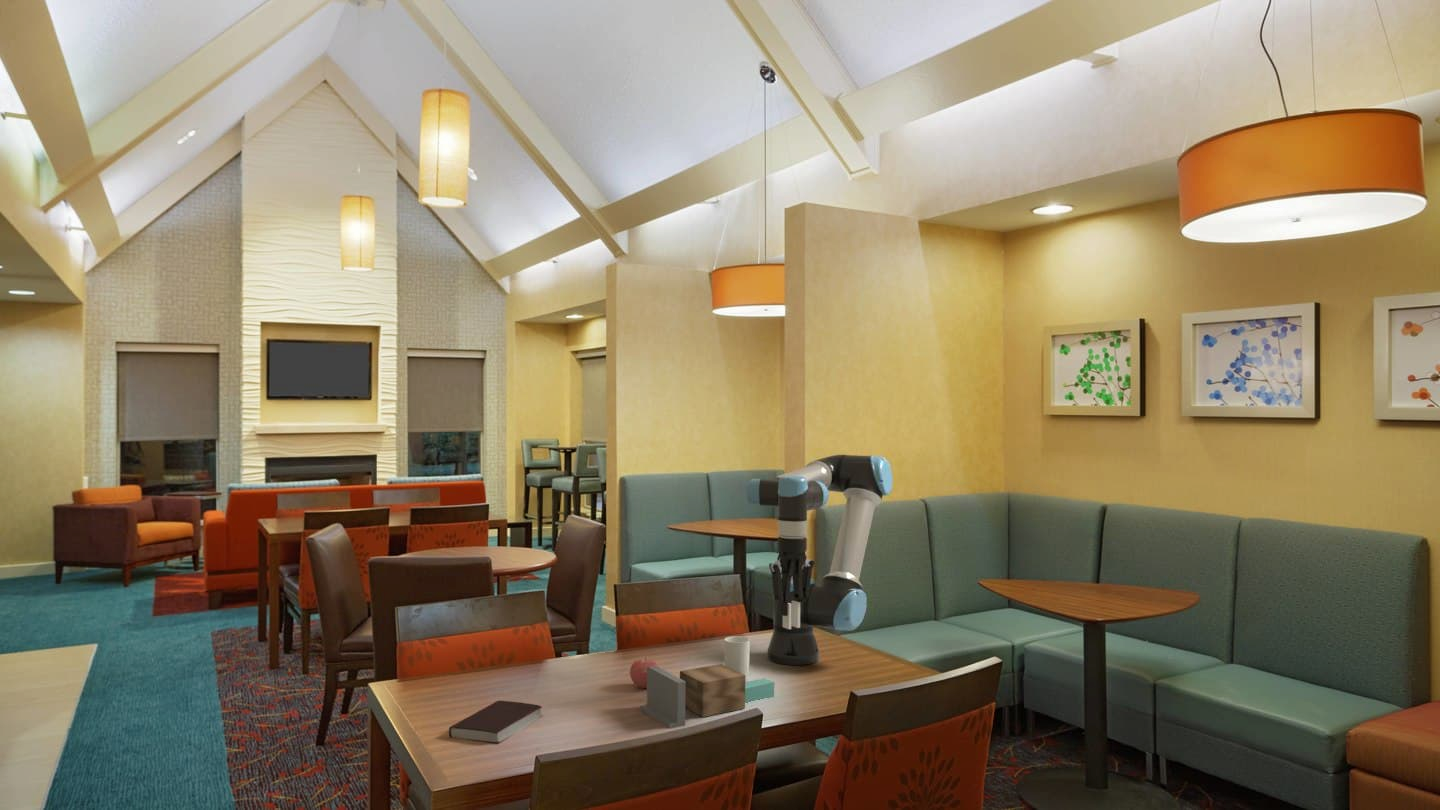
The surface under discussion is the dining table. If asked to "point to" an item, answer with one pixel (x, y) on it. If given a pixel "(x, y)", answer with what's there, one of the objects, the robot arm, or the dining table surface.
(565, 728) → the dining table surface
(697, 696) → the block
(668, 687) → the wall
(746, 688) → the teal bar
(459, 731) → the book
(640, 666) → the apple
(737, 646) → the mug
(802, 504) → the robot arm
